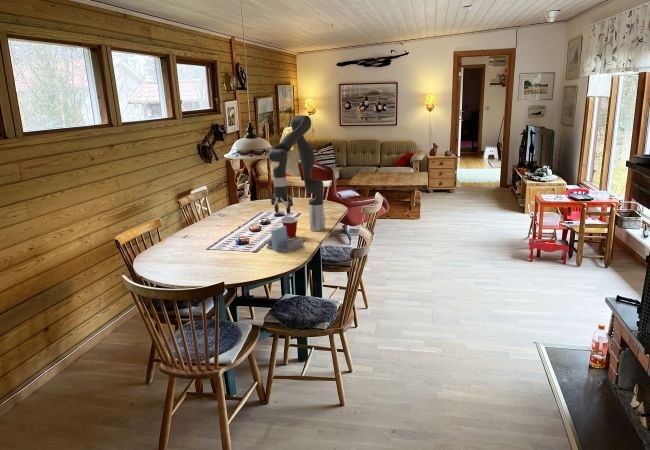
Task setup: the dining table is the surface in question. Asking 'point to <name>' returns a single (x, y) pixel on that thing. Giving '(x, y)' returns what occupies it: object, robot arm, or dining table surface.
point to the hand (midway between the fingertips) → (282, 212)
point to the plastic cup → (290, 226)
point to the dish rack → (287, 245)
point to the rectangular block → (278, 236)
